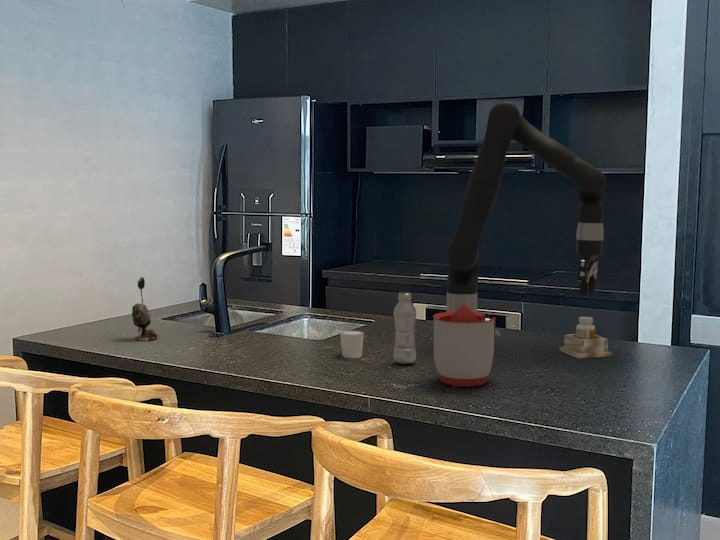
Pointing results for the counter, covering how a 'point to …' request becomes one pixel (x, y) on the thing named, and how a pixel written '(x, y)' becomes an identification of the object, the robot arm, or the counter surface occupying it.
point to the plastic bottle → (404, 329)
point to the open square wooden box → (585, 347)
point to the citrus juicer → (463, 347)
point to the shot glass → (352, 344)
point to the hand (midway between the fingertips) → (587, 293)
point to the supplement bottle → (585, 328)
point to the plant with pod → (142, 318)
